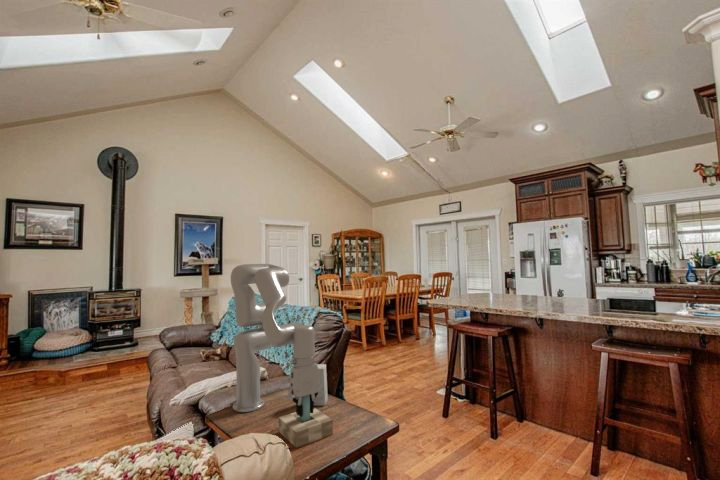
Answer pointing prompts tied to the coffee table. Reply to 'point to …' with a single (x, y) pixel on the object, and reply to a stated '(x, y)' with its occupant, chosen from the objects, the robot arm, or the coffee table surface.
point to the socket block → (305, 428)
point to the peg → (305, 409)
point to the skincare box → (322, 386)
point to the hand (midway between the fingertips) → (305, 413)
